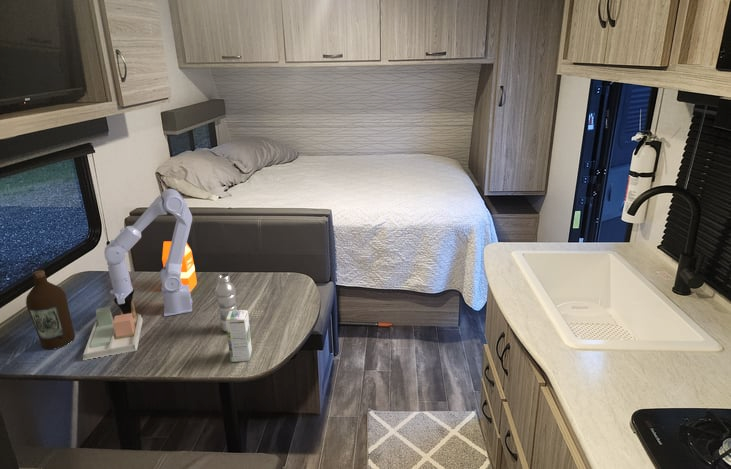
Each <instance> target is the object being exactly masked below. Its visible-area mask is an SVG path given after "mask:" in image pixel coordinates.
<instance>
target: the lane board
mask: <svg viewBox="0 0 731 469" xmlns="http://www.w3.org/2000/svg"><path fill="white" fill-rule="evenodd" d="M138 314H139V315H138V320H137V324H136V329H135V334H134V336H133V337H127V338H122V339H116V338H115V336H116V334H115V330H114V331H113V334H112V338H111V341H110V344H109V345H104V346H99V347H93V348H91V346H90V345H91V342H92V339H93V336H94V333H95V331H96V328H97V325H98V321H95V322H94V324H93V327H92V329H91V333H90V335H89V338H88V341H87V344H86V346H85V349H84V351H83V354H82V356H83V357H82V360H86V361H88V360H87V359H91V360H94V359H93V358H96V359H99V358H98V357H101V358H105V357H104V356H107V357H110V356H109V355H112V356H116V354H117V355H121V353H122V354H126V352H127V353H132V352H137V351H138V346H139V341H140V336H141V332H142V326H143V320H144V319H143V317H142V314H140V313H138Z"/></svg>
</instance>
